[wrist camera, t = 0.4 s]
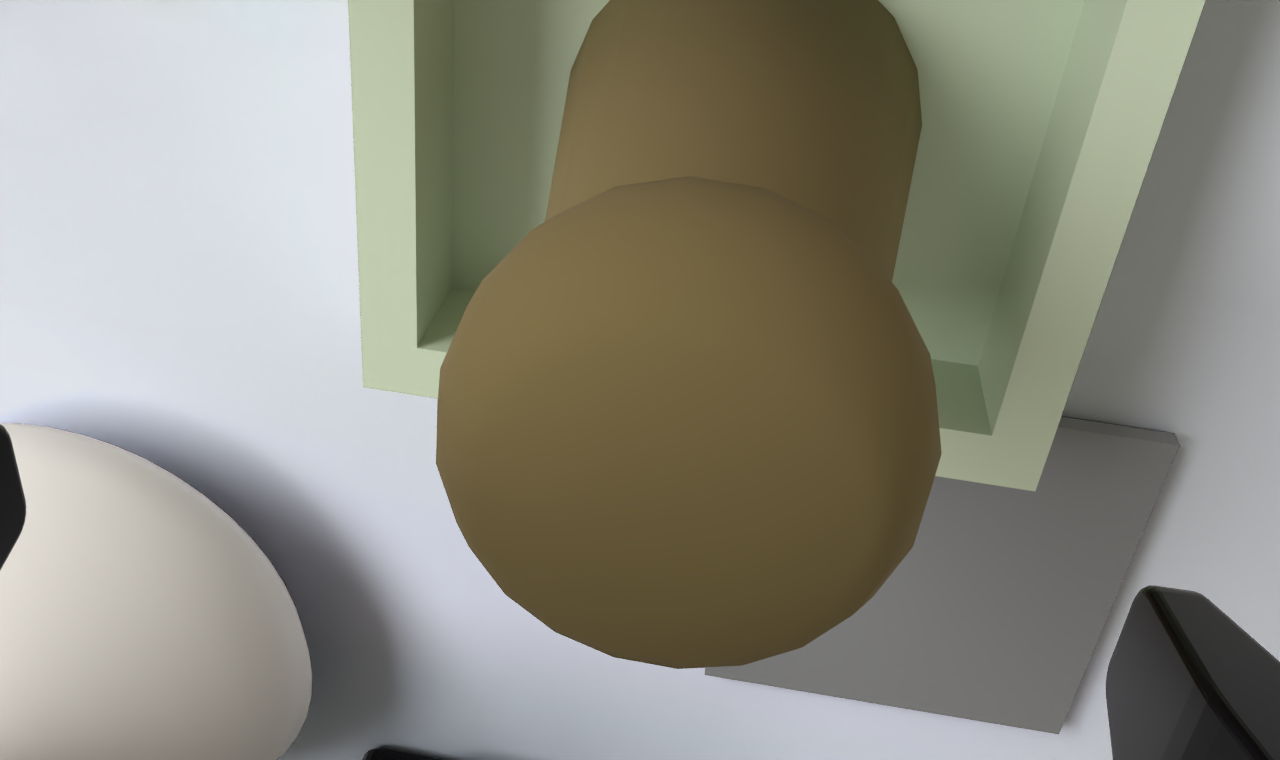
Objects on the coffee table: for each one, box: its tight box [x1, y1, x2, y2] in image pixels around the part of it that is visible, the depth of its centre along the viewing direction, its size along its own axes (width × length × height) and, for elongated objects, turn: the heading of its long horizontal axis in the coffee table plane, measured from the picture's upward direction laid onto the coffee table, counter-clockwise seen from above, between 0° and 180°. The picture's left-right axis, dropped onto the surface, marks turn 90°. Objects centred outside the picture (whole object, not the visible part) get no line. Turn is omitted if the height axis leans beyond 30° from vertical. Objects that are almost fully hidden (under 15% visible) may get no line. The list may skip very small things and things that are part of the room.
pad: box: [705, 416, 1180, 734], centre depth 25 cm, size 8×8×1 cm
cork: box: [436, 0, 942, 669], centre depth 16 cm, size 6×6×11 cm
